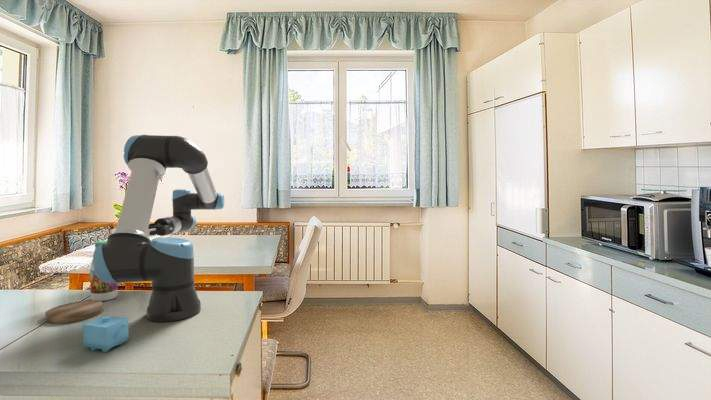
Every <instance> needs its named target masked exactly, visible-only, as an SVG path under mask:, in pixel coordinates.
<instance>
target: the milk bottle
mask: <svg viewBox="0 0 711 400" xmlns="http://www.w3.org/2000/svg"><path fill="white" fill-rule="evenodd" d="M106 242H107V240H99V241H95V242H94V249H95V248H96V247H97V246H98V245H100V244H103V243H104V244H106ZM89 277H90V278H89V279H90V281H89V282H90V283H89V284H90V286H89V287H90V299H91V300H94V301H101V302H103V301H110V300H113V299H115V298H117V297H118V295H119V294H118V290H119V289H118V283H106V282H102V281H101V280H100V279H99V278H98V277H97V276H96V273H95V270H94V267H93V259H91V262H90V268H89Z"/></svg>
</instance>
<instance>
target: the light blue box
mask: <svg viewBox="0 0 711 400" xmlns="http://www.w3.org/2000/svg"><path fill="white" fill-rule="evenodd" d="M129 324H130V323H129V318H128V317H121V316H112V315H104V316H101V317H99V318H96V319H94V320H91V321H89V322H87V323H84V324H82V338H83V341H82V343H83V348H90V351H95V350H97V349H98V350H101V352H102V353H107V352H109V351H110V350H111V349H112V348H115V347H116V346H121V345H123V343H125V342H126V341H128V340H129V334H130V333H129V332H130V331H129Z"/></svg>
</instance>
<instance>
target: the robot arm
mask: <svg viewBox="0 0 711 400" xmlns="http://www.w3.org/2000/svg"><path fill="white" fill-rule="evenodd" d="M123 147H124V148H123V160H124V162H125V164H126V165H127V168H128V169H129V170H130V171H131V172H130V176H129V180H128V183H127V186H126V191H125V194H124V197H123V198H124V199H123V202H122V205H121V210H120V212H119V217H118V219H117V220H118V221H117V225H116V228H113V229H111V228H110V230H109V231H110V234H109V235H108V236H107V239H106V241H107V242H106V244H104V243H103V244H100V245H98V246H97V247H96V248H95V247H94V252H93V255H92V260H93V267H94V270H95V273H96V276H97V277H98V278H99V279H100V280H101V281H102V282H106V283H117V284H120V283H139V282H151V283H152V288H151V289H152V292H151V295H150V298H149V302H148V306H147V307H146V310H145V312H146V319H147V320H149V321H151V322H155V323H156V322H159V323H167V322H176V321H180V320H185V319H189V318H190V317H191V318H192V317H193V316H196V315H197V314H198V313H200V312H201V309H202V307H201V305H202V303H201V300H200V299H199V295H198V293H197V290H196V288H195V253H194V244H193V243H192V241H190V240H188V239H185V238H180V237H172V236H173V235H174V234H176V233H181V232H187V231H191V230H192V229H194V227H196V224H197V219H196V217H195V216H194V215H193V214H192V211H193V210H195V211H197V210H206V211H207V210H209V211H210V210H214V211H216V210H222V209H224V207H225V196H224V194H223V193H219V192H217V190H216V187H215V185H214V182H213V180H212V176H211V174H210V172H209V169H208V166H209V162H208V159H207V156H206V154H205V153H204V151H203V150H202V148H200V147H199V145H197V144H196V143H194V142H193V141H191V140H190V139H189V138H185V137H182V136H179V135H152V134H151V135H149V134H139V135H138V134H137V135H132V136H130V137H129V138H128V139H127V140H126V142H125V144H124V146H123ZM168 168H169V169H171V168H172V169H173V168H174V169H175V168H176V169H177V168H178V169H182V171H183V172H184V173H186V174H187V175H188V177H189V179H190V181H191V183H192V185H193V187H194V189H195V191H196V193H195V192H192V191H191V189H189V188H188V189H187V188H182V189H181V188H177V189H174V190H172V199H171V200H172V201H171V202H172V216H168V217H167V216H166V217H161V218H157V219H156V220H154V222H153V223H150V222H151V218H152V214H153V210H154V209H153V208H154V204H155V203H154V202H155V199H156V193H157V190H158V186H159V185H158V184H159V180H160V177H163V176H164V175H165V174H166V171H167V169H168ZM191 192H192V193H191ZM168 235H169V236H171V237H169V236H168ZM155 236H161V237H155ZM163 236H167V237H163ZM150 237H153V238H152V239H150Z"/></svg>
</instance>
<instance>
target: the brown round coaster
mask: <svg viewBox="0 0 711 400" xmlns="http://www.w3.org/2000/svg"><path fill="white" fill-rule="evenodd" d="M102 312H104V302H103V301H94V300H80V301H74V302H68V303H64V304H61V305H57V306H54V307H52V308H50V309H48V310H46V312H45V313H44V314H45V315H44V319H45V322H46V323H48V324H57V325H58V324H68V323H75V322H80V321H84V320H89V319H91V318H93V317H96V316H99V315H100V314H102Z"/></svg>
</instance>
